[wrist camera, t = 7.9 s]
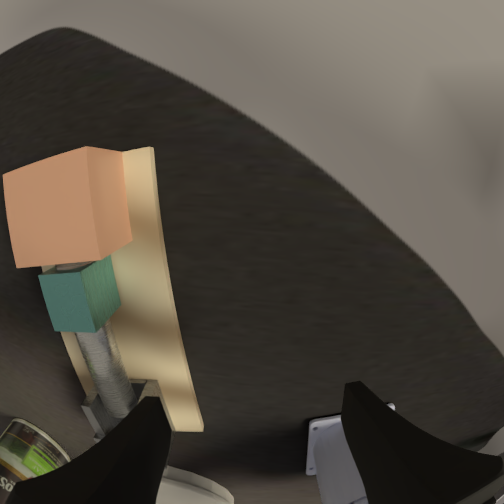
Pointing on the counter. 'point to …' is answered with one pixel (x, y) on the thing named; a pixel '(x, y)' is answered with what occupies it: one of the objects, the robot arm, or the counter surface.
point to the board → (146, 302)
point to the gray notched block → (107, 423)
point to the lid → (190, 489)
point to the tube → (91, 325)
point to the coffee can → (26, 455)
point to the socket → (67, 208)
